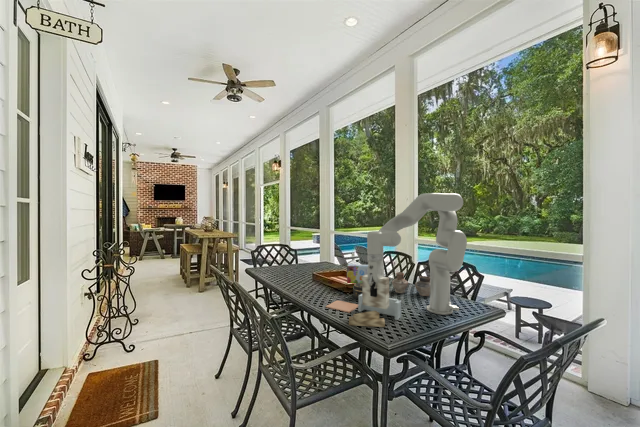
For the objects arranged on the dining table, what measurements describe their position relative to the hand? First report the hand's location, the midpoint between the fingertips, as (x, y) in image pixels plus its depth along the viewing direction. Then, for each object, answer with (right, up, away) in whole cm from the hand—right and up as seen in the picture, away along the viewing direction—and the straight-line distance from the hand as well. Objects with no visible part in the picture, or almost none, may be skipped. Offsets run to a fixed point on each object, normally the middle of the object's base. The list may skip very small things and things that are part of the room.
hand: (375, 294), depth 145 cm
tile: (-15, -10, +15) cm, 24 cm away
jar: (-2, -10, +30) cm, 32 cm away
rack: (+3, -11, +5) cm, 13 cm away
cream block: (0, -5, 0) cm, 5 cm away
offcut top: (-6, -9, -8) cm, 13 cm away
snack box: (+1, -10, +50) cm, 51 cm away
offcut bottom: (-6, -12, -7) cm, 15 cm away
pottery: (+30, -10, +40) cm, 51 cm away
